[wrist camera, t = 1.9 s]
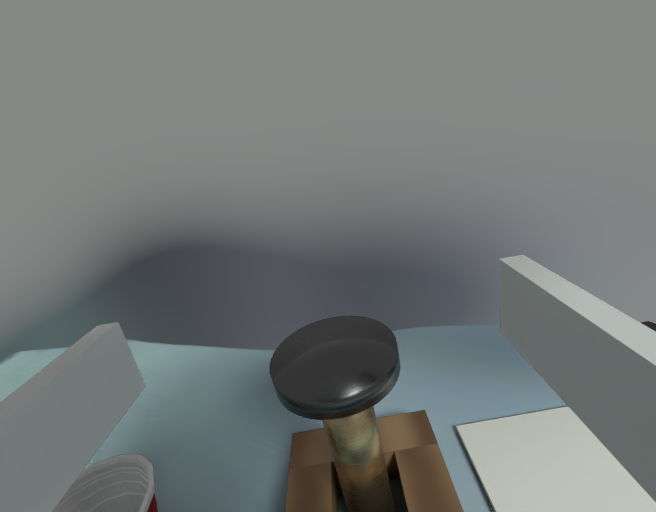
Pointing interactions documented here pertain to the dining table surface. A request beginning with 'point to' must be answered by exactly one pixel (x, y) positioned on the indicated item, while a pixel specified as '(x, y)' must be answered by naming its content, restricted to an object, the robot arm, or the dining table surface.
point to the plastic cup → (112, 487)
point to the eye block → (400, 458)
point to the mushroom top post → (343, 397)
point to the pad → (549, 466)
